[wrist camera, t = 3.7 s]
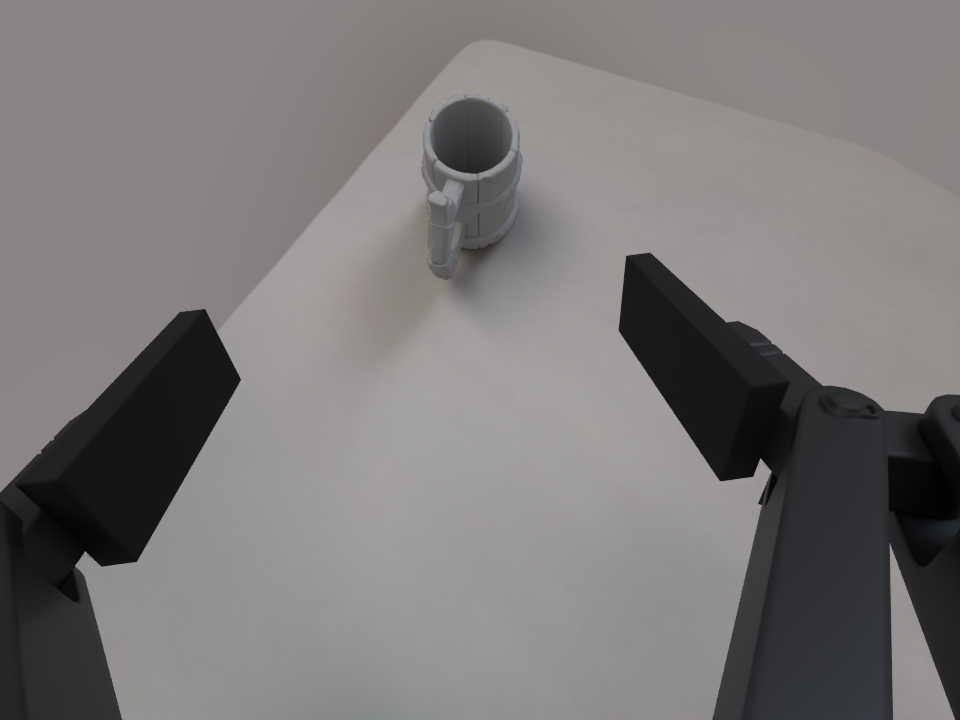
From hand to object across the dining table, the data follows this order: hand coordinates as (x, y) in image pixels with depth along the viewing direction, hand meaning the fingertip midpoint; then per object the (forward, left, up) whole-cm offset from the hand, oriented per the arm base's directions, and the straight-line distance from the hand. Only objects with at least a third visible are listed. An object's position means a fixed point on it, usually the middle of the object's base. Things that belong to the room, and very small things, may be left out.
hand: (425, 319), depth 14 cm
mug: (-11, +8, -22) cm, 26 cm away
